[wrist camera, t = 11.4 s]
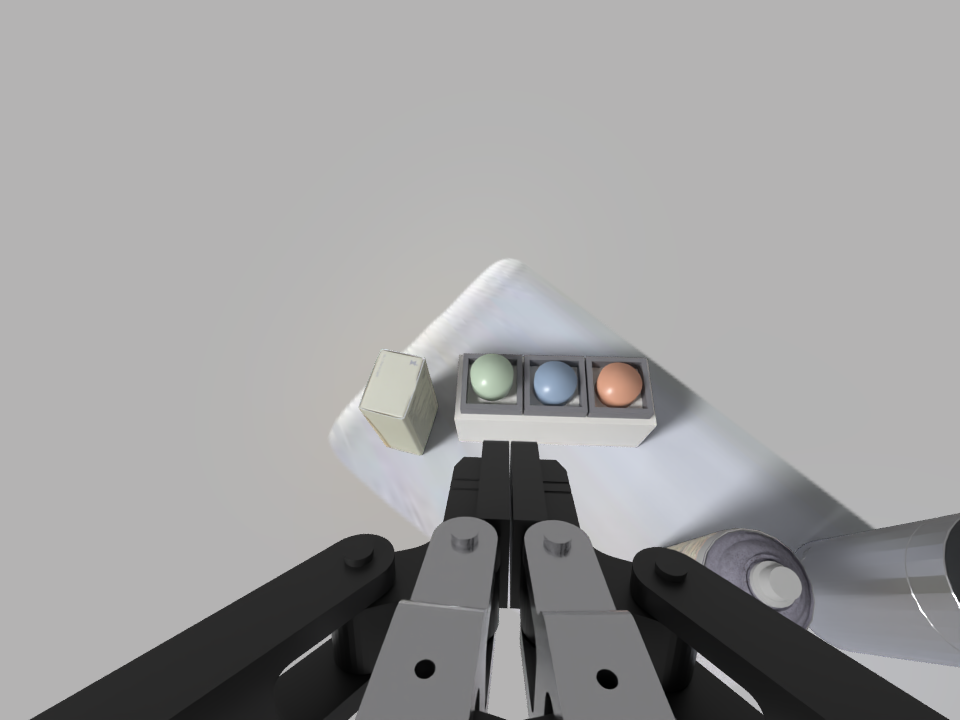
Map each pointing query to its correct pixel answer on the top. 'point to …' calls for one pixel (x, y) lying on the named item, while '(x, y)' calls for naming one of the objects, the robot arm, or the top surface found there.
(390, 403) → the skincare box
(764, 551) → the aerosol can
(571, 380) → the slate blue button
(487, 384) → the sage button
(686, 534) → the top surface
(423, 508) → the top surface
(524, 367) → the button console
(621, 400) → the terracotta button
